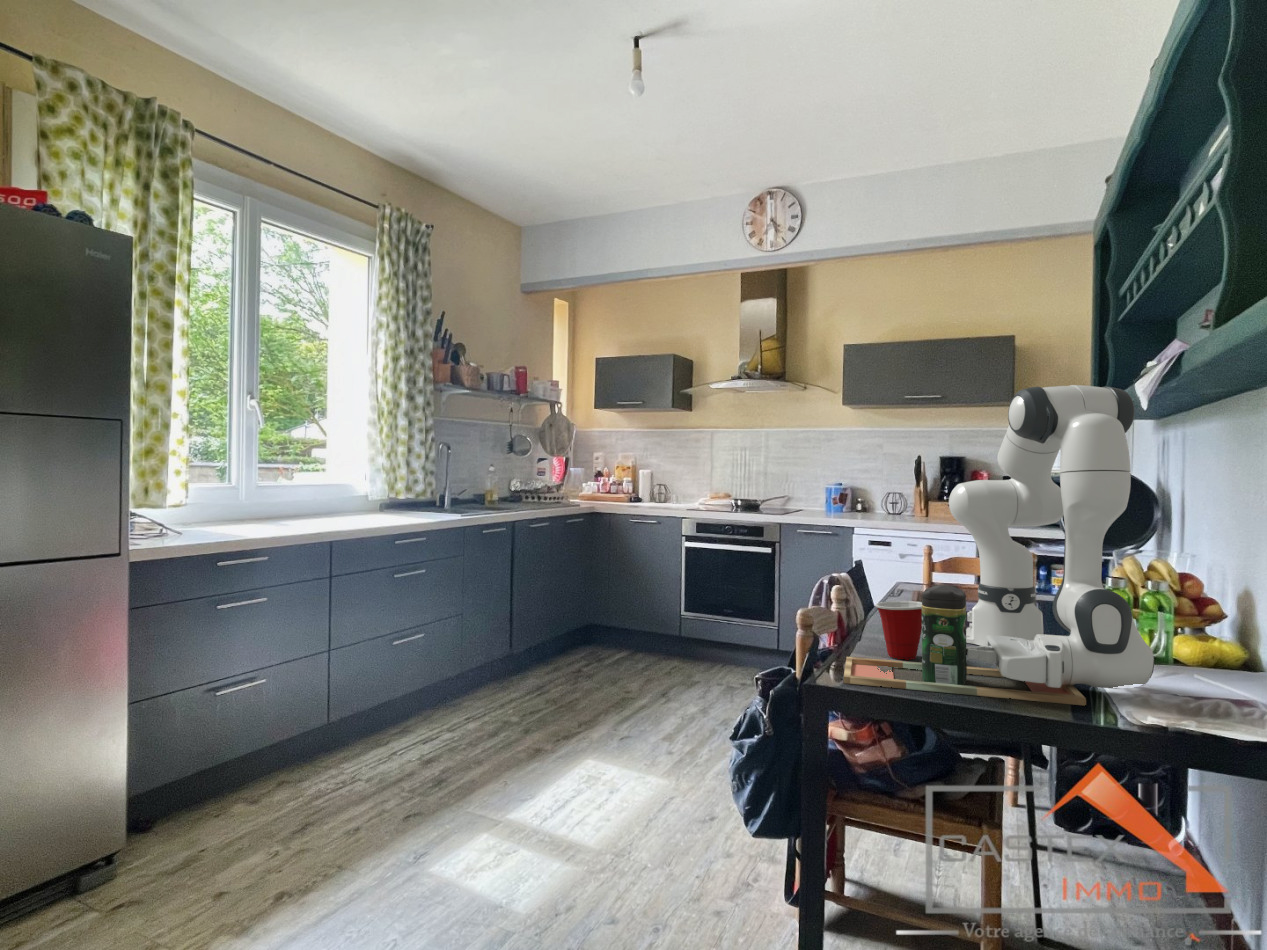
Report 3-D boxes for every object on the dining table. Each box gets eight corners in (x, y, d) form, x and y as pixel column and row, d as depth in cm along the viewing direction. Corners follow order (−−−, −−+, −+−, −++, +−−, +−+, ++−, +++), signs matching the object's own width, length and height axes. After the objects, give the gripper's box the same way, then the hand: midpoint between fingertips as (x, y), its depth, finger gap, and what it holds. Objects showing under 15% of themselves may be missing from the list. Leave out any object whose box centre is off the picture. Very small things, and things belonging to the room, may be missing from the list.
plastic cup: (886, 648, 164) (886, 596, 164) (934, 656, 157) (934, 602, 157) (867, 657, 155) (867, 602, 156) (917, 666, 148) (917, 608, 148)
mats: (852, 665, 149) (852, 664, 149) (1057, 682, 137) (1057, 681, 137) (850, 681, 137) (850, 680, 137) (1075, 701, 125) (1075, 700, 125)
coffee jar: (925, 672, 143) (925, 581, 143) (968, 678, 139) (968, 584, 139) (918, 685, 135) (918, 587, 135) (964, 691, 131) (964, 591, 131)
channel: (846, 662, 151) (846, 656, 151) (1062, 680, 138) (1062, 674, 138) (843, 683, 136) (843, 676, 136) (1086, 705, 123) (1086, 698, 123)
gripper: (1035, 630, 142) (960, 625, 146) (1061, 654, 122) (973, 648, 127) (1035, 661, 142) (960, 656, 146) (1061, 691, 122) (973, 683, 127)
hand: (966, 652), depth 136 cm, fingers closed
